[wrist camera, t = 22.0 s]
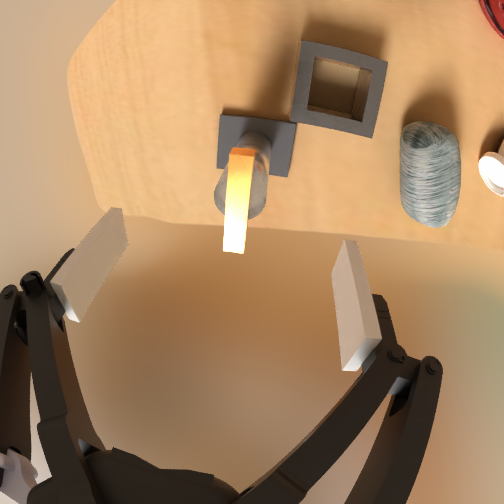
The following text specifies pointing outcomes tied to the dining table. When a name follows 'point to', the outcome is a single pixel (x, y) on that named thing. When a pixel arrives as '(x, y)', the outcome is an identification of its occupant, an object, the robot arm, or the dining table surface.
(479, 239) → the dining table surface
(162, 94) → the dining table surface
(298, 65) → the block
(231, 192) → the chuck key
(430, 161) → the spool
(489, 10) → the plant pot
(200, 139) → the dining table surface
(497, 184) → the spread jar
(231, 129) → the rest mat
